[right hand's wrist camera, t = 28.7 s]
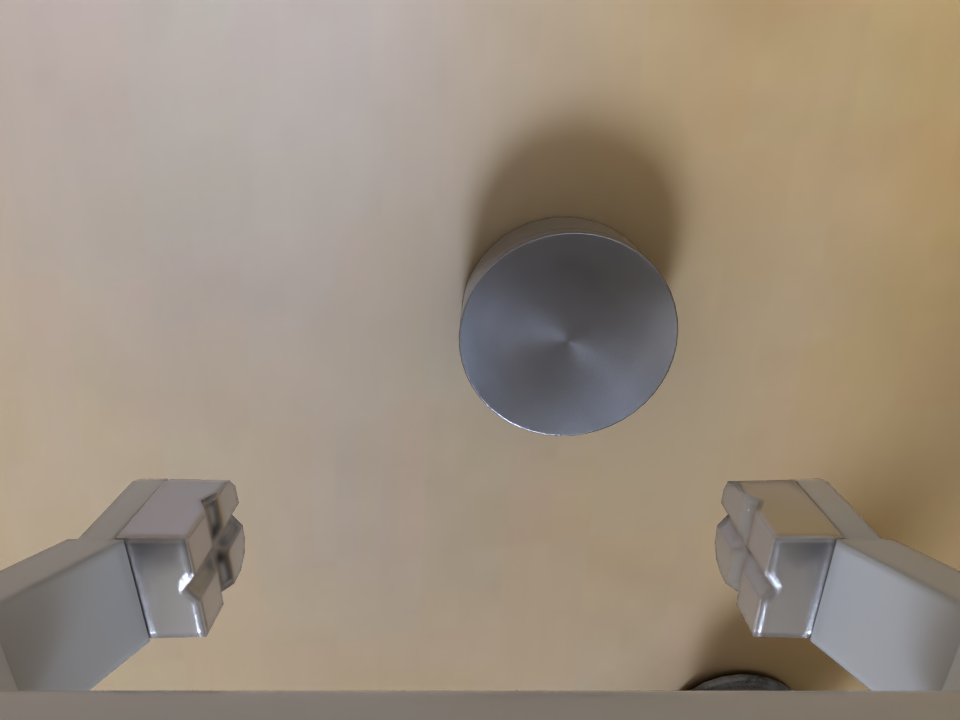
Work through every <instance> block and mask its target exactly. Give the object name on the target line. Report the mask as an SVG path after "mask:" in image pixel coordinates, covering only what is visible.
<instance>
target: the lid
mask: <svg viewBox="0 0 960 720" xmlns="http://www.w3.org/2000/svg"><path fill="white" fill-rule="evenodd" d="M677 337H678V317H677V312H676V307H675V303H674V300H673V297H672V294H671V291H670V289H669V287H668V285H667V283H666V282H665V280H664V278H663V277H662V275H661V274H660V273H659V271H658V270H657V268H656V267H655V266H654V265H653V264H652V263H651V262H650V261H649V260H648V259H647V258H646V257H645V256H644V255H643V254H642V253H641V252H640V251H639V250H638V249H637V248H636V247H635V246H634V245H633V244H632V243H631V242H630V241H629V240H628V239H626V238H625V237H624V236H623V235H621V234H620V233H618V232H617V231H615V230H613V229H611V228H610V227H608V226H605V225H603V224H600V223H598V222H595V221H591V220H587V219H583V218H574V217H554V218H548V219H541V220H538V221H535V222H531V223H528V224H526V225H524V226H521V227H519V228H517V229H515V230H513V231H512V232H510V233H508V234H507V235H505V236H504V237H502V238H501V239H500V240H499V241H497V242H496V243H495V244H494V245H493V246H492V247H491V248H490V249H489V250H488V251H487V252H486V253H485V254H484V255H483V257H482V258H481V259H480V261H479V262H478V263H477V265H476V267H475V268H474V270H473V272H472V274H471V276H470V278H469V281H468V283H467V286H466V289H465V293H464V297H463V303H462V312H461V321H460V331H459V349H460V355H461V360H462V364H463V367H464V370H465V373H466V376H467V378H468V380H469V382H470V384H471V386H472V387H473V389H474V390H475V392H476V393H477V395H478V396H479V397H480V398H481V400H482V401H483V402H484V403H485V404H486V405H487V406H488V407H489V408H490V409H491V410H493V411H494V412H495V413H496V414H497V415H499V416H500V417H502V418H503V419H505V420H506V421H508V422H510V423H512V424H514V425H516V426H518V427H520V428H523V429H526V430H529V431H532V432H536V433H541V434H545V435H556V436H572V435H579V434H586V433H590V432H594V431H598V430H601V429H604V428H606V427H609V426H611V425H613V424H615V423H617V422H619V421H621V420H623V419H625V418H626V417H628V416H629V415H631V414H632V413H634V412H635V411H636V410H637V409H639V408H640V407H641V406H642V405H643V404H645V403H646V401H647V400H648V399H649V398H650V397H651V396H652V395H653V394H654V393H655V391H656V390H657V389H658V387H659V386H660V384H661V383H662V382H663V380H664V378H665V376H666V374H667V372H668V371H669V368H670V365H671V363H672V360H673V358H674V354H675V350H676V346H677Z"/></svg>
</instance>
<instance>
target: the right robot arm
mask: <svg viewBox="0 0 960 720" xmlns="http://www.w3.org/2000/svg"><path fill="white" fill-rule="evenodd" d="M238 503H239V502H238V497H237V492H236V488H235V485H234V484H233V483H232V482H231V481H230V480H188V479H170V480H168V479H140V480H136V481H133V482H132V483H131V484H130V485H129V486H128V487H127V488H126V489H125V490H124V491H123V492H122V493H121V494H120V495H119V496H118V498H117V499H116V500H115V501H114V502H113V503H112V504H111V505H110V506H109V507H108V508H107V509H106V510H105V511H104V512H103V513H102V514H101V516H100V517H99V518H98V519H97V520H96V521H95V522H94V523H93V524H92V525H91V526H90V527H89V528H88V529H87V530H86V531H85V532H84V533H83V535H82V536H81V537H80V538H79V539H67V540H65V541H63V542H61V543H59V544H57V545H55V546H53V547H50V548H48V549H46V550H44V551H42V552H40V553H38V554H36V555H33V556H31V557H29V558H27V559H25V560H23V561H21V562H19V563H16V564H14V565H12V566H10V567H8V568H6V569H4V570H2V571H0V720H960V571H958V570H956V569H954V568H952V567H950V566H948V565H946V564H943V563H941V562H939V561H937V560H935V559H933V558H931V557H929V556H926V555H924V554H922V553H920V552H918V551H916V550H914V549H912V548H909V547H907V546H905V545H903V544H901V543H899V542H897V541H895V540H893V539H881V538H880V537H879V536H878V535H877V533H876V532H875V531H874V530H873V529H872V528H871V527H870V526H869V525H868V524H867V523H866V522H865V521H864V520H863V519H862V518H861V516H860V515H859V514H858V513H857V512H856V511H855V510H854V509H853V508H852V507H851V506H850V505H849V504H848V503H847V502H846V501H845V500H844V498H843V497H842V496H841V495H840V494H839V493H838V492H837V491H836V490H835V489H834V488H833V487H832V486H831V485H830V484H829V483H828V482H827V481H824V480H822V479H793V480H766V481H728V482H727V484H726V486H725V488H724V491H723V496H722V501H721V503H722V505H723V507H724V508H725V510H726V512H727V513H728V515H727V516H726V517H725V518H724V519H723V520H722V521H721V522H720V523H719V524H718V525H717V531H716V539H715V549H716V560H717V563H718V567H719V570H720V573H721V575H722V577H723V579H724V581H725V583H726V584H728V585H729V586H730V587H732V588H733V589H735V590H736V591H738V592H739V593H738V598H737V606H738V608H739V610H740V612H741V613H742V615H743V617H744V619H745V621H746V623H747V625H748V627H749V629H750V630H751V632H752V634H753V636H754V637H783V638H811V639H810V641H811V642H812V643H813V644H815V645H816V646H817V647H818V648H820V649H821V650H822V651H823V652H824V653H826V654H827V655H828V656H829V657H831V658H832V659H833V660H834V661H836V662H837V663H838V664H839V665H840V666H842V667H843V668H844V669H845V670H847V671H848V672H849V673H850V674H852V675H853V676H854V677H855V678H857V679H858V680H859V681H860V682H861V683H863V684H864V685H865V686H866V687H868V688H869V689H870V690H871V691H89V690H90V689H91V688H93V687H94V686H95V685H96V684H98V683H99V682H100V681H101V680H102V679H104V678H105V677H106V676H107V675H109V674H110V673H111V672H112V671H114V670H115V669H116V668H117V667H119V666H120V665H121V664H122V663H123V662H125V661H126V660H127V659H128V658H130V657H131V656H132V655H133V654H135V653H136V652H137V651H138V650H139V649H141V648H142V647H143V646H144V645H146V644H147V643H148V642H149V641H150V639H149V638H176V637H206V636H207V634H208V632H209V631H210V629H211V627H212V625H213V623H214V621H215V619H216V617H217V615H218V613H219V612H220V610H221V608H222V606H223V598H222V593H221V592H222V591H224V590H225V589H227V588H228V587H230V586H231V585H232V584H234V583H235V581H236V579H237V577H238V575H239V573H240V570H241V567H242V562H243V558H244V553H245V537H244V531H243V525H242V524H241V523H240V522H239V521H238V520H237V519H236V518H235V517H234V516H233V515H232V513H233V512H234V510H235V508H236V507H237V505H238Z"/></svg>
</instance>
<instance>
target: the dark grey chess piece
mask: <svg viewBox="0 0 960 720" xmlns="http://www.w3.org/2000/svg"><path fill="white" fill-rule="evenodd" d="M689 691H792V690H791V689H790V688H789V687H787V686H786V685H784V684H782V683H780V682H779V681H777V680H775V679H771V678H767V677H764V676H760V675H747V674H738V675H730V676H723V677H719V678H716V679H713V680H710V681H707V682H704V683H702V684H700V685H699V686H697V687H695V688H693V689H691V690H689Z"/></svg>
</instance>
